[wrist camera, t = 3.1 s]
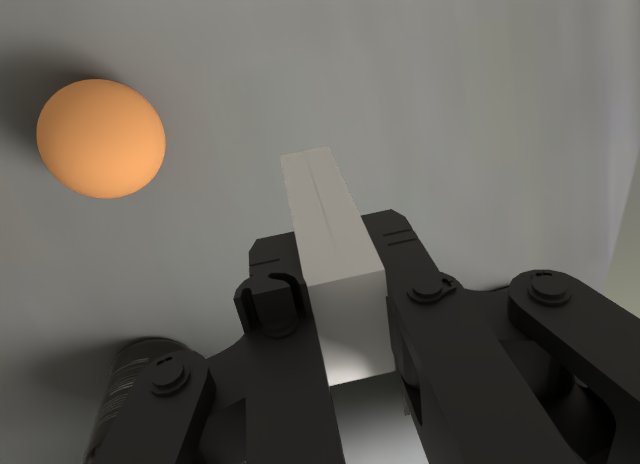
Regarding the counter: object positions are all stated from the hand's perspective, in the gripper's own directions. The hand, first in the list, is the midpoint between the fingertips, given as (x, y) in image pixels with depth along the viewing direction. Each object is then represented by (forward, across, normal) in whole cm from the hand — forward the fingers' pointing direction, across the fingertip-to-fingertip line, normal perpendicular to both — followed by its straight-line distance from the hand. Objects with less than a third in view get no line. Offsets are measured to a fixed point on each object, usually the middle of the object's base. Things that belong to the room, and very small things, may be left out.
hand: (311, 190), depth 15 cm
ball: (+11, +10, 0) cm, 15 cm away
